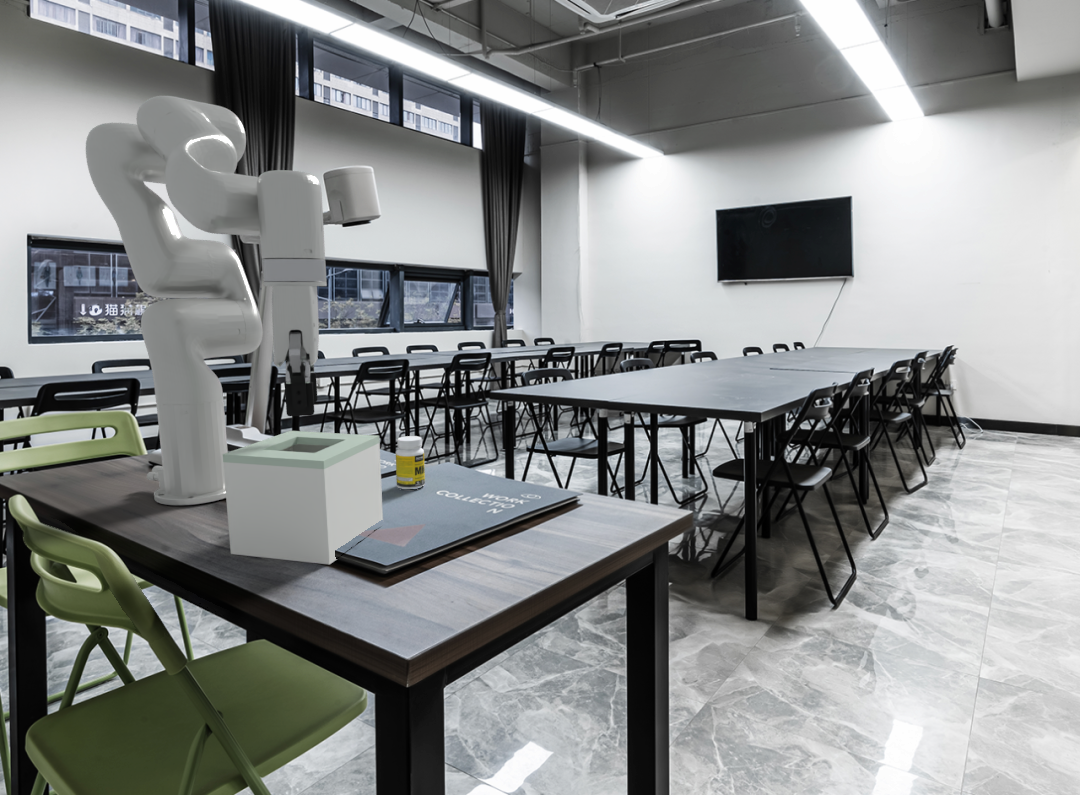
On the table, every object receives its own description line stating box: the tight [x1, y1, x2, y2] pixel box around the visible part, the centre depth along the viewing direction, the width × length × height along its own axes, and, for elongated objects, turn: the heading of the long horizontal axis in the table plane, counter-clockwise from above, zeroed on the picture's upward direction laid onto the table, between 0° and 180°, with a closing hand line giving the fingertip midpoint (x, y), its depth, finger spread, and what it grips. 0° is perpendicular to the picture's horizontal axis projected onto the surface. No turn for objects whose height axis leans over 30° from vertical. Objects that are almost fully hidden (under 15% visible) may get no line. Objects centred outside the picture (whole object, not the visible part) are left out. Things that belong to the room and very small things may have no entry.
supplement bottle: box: [395, 435, 426, 489], centre depth 112 cm, size 5×5×8 cm
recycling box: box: [223, 430, 384, 565], centre depth 89 cm, size 14×14×13 cm
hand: (303, 408), depth 87 cm, fingers open, 9 cm apart
